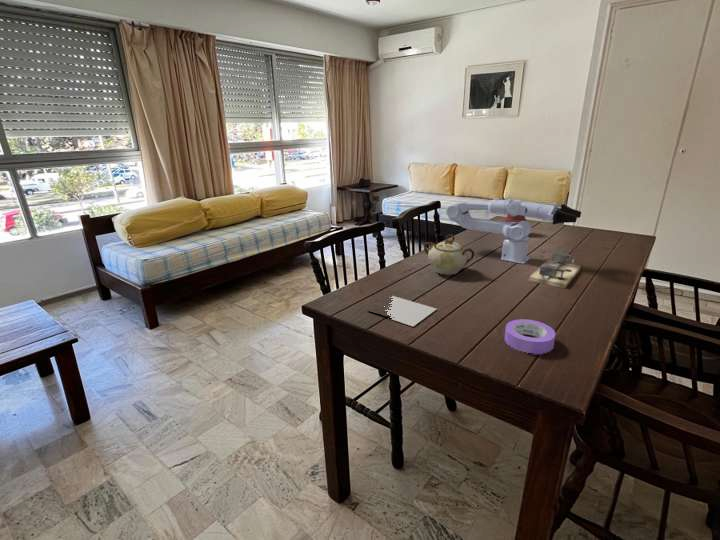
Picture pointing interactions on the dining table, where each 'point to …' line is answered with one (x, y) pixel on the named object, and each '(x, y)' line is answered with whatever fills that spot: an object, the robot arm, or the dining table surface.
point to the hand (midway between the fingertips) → (578, 217)
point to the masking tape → (528, 343)
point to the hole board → (554, 279)
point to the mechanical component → (515, 218)
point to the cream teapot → (448, 256)
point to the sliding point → (562, 257)
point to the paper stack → (408, 311)
